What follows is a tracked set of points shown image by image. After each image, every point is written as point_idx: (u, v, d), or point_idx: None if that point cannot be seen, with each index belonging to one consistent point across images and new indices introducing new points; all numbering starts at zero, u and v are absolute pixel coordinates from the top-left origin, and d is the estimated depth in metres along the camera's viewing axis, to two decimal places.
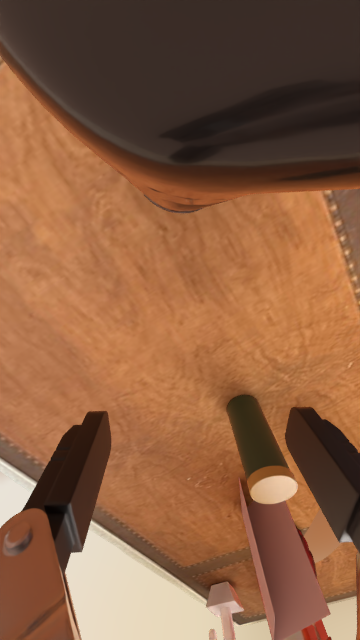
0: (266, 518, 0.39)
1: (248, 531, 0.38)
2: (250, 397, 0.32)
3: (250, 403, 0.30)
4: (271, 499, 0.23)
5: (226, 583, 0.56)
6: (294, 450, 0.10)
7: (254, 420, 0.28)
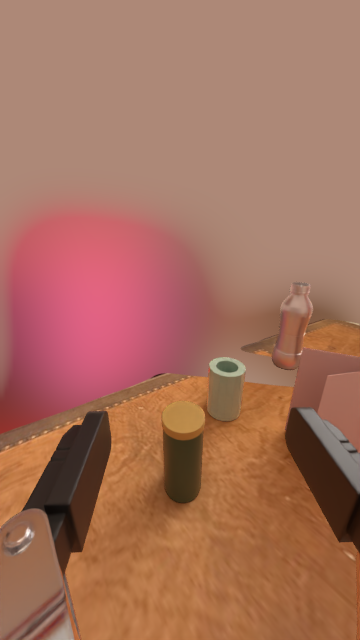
0: None
1: (354, 435, 0.30)
2: None
3: None
4: (196, 415, 0.25)
5: None
6: (294, 450, 0.10)
7: None
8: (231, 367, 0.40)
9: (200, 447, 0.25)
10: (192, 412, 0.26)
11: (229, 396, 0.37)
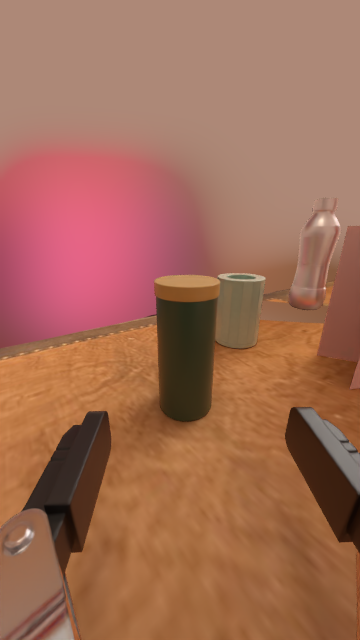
0: None
1: None
2: None
3: None
4: (207, 280, 0.17)
5: None
6: (294, 450, 0.10)
7: (158, 359, 0.19)
8: None
9: (213, 328, 0.17)
10: (200, 279, 0.17)
11: (245, 311, 0.28)
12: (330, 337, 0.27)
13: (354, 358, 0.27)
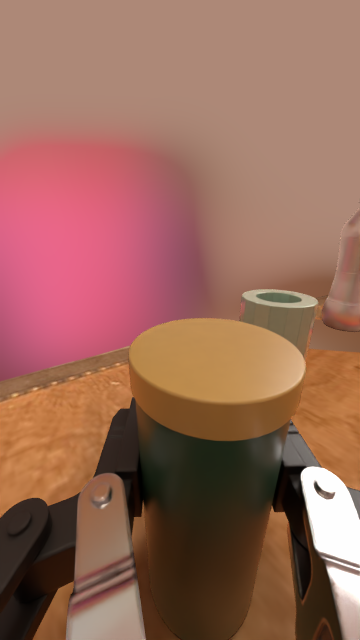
0: None
1: None
2: None
3: None
4: (264, 344, 0.07)
5: None
6: None
7: None
8: None
9: (279, 468, 0.07)
10: (244, 339, 0.07)
11: None
12: None
13: None
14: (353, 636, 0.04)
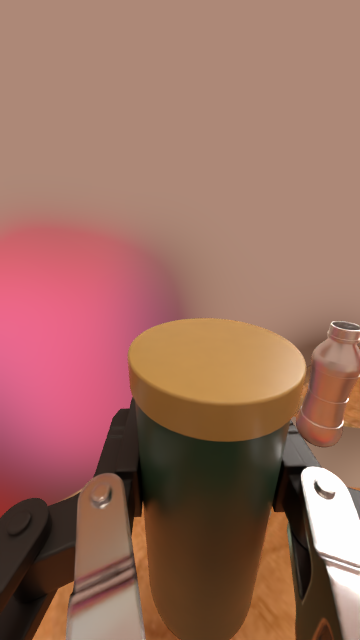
0: None
1: None
2: None
3: None
4: (264, 344, 0.07)
5: None
6: None
7: None
8: None
9: (279, 469, 0.07)
10: (244, 339, 0.07)
11: None
12: None
13: None
14: (353, 636, 0.04)
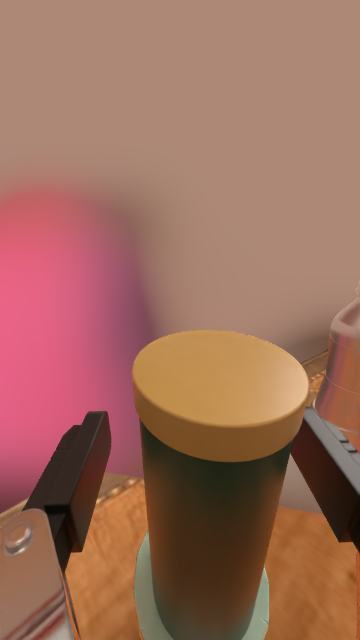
0: None
1: None
2: None
3: None
4: (267, 359, 0.07)
5: None
6: (294, 450, 0.10)
7: None
8: None
9: (282, 483, 0.07)
10: (247, 353, 0.07)
11: None
12: None
13: None
14: None
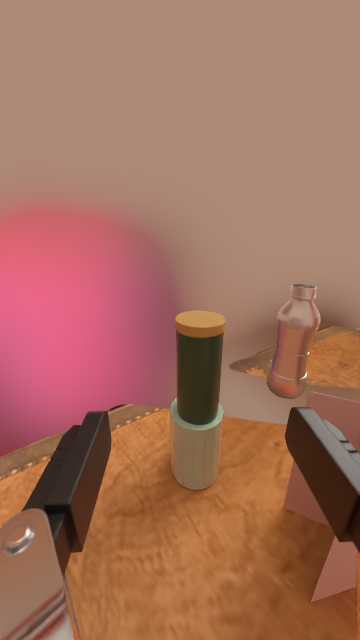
0: None
1: None
2: None
3: None
4: (215, 317, 0.22)
5: None
6: (294, 450, 0.10)
7: None
8: None
9: (220, 354, 0.22)
10: (210, 316, 0.22)
11: (198, 457, 0.24)
12: (297, 494, 0.23)
13: (324, 521, 0.23)
14: None
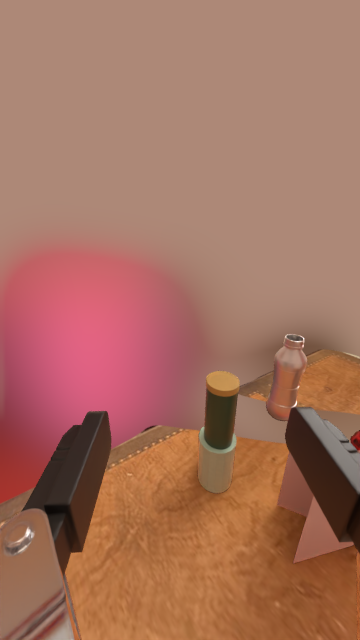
0: None
1: None
2: None
3: (204, 428, 0.37)
4: (233, 379, 0.33)
5: None
6: (294, 450, 0.10)
7: (205, 416, 0.35)
8: None
9: (235, 404, 0.33)
10: (229, 378, 0.34)
11: (219, 471, 0.36)
12: (286, 496, 0.35)
13: (304, 514, 0.34)
14: None
